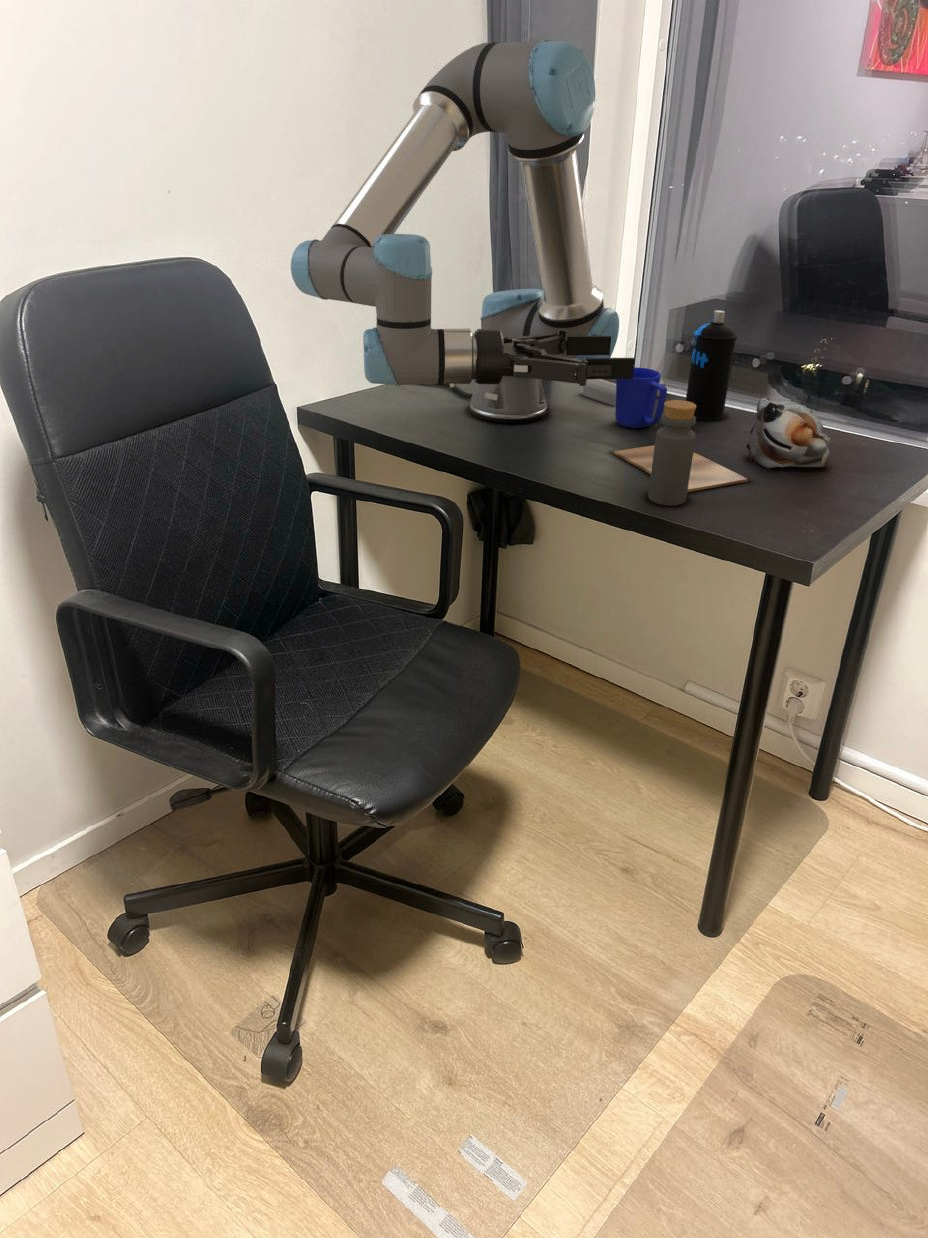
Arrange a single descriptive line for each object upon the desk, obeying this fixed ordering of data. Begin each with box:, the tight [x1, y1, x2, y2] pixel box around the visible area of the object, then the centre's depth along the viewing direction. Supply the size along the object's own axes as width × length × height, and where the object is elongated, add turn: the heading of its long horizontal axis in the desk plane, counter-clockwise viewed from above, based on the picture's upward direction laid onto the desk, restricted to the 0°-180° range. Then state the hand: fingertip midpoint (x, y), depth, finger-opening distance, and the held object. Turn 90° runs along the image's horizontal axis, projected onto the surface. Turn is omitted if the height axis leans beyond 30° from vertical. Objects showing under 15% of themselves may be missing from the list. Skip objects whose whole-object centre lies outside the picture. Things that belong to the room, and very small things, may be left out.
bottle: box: [647, 399, 697, 507], centre depth 134 cm, size 6×6×15 cm
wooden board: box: [613, 444, 749, 493], centre depth 150 cm, size 20×13×1 cm, turn 25°
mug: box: [615, 366, 668, 429], centre depth 166 cm, size 8×12×10 cm
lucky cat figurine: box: [745, 397, 831, 469], centre depth 149 cm, size 15×12×14 cm
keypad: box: [582, 379, 667, 407], centre depth 187 cm, size 10×4×15 cm
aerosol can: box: [685, 309, 739, 422], centre depth 172 cm, size 8×8×20 cm
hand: (621, 356), depth 126 cm, fingers open, 13 cm apart
